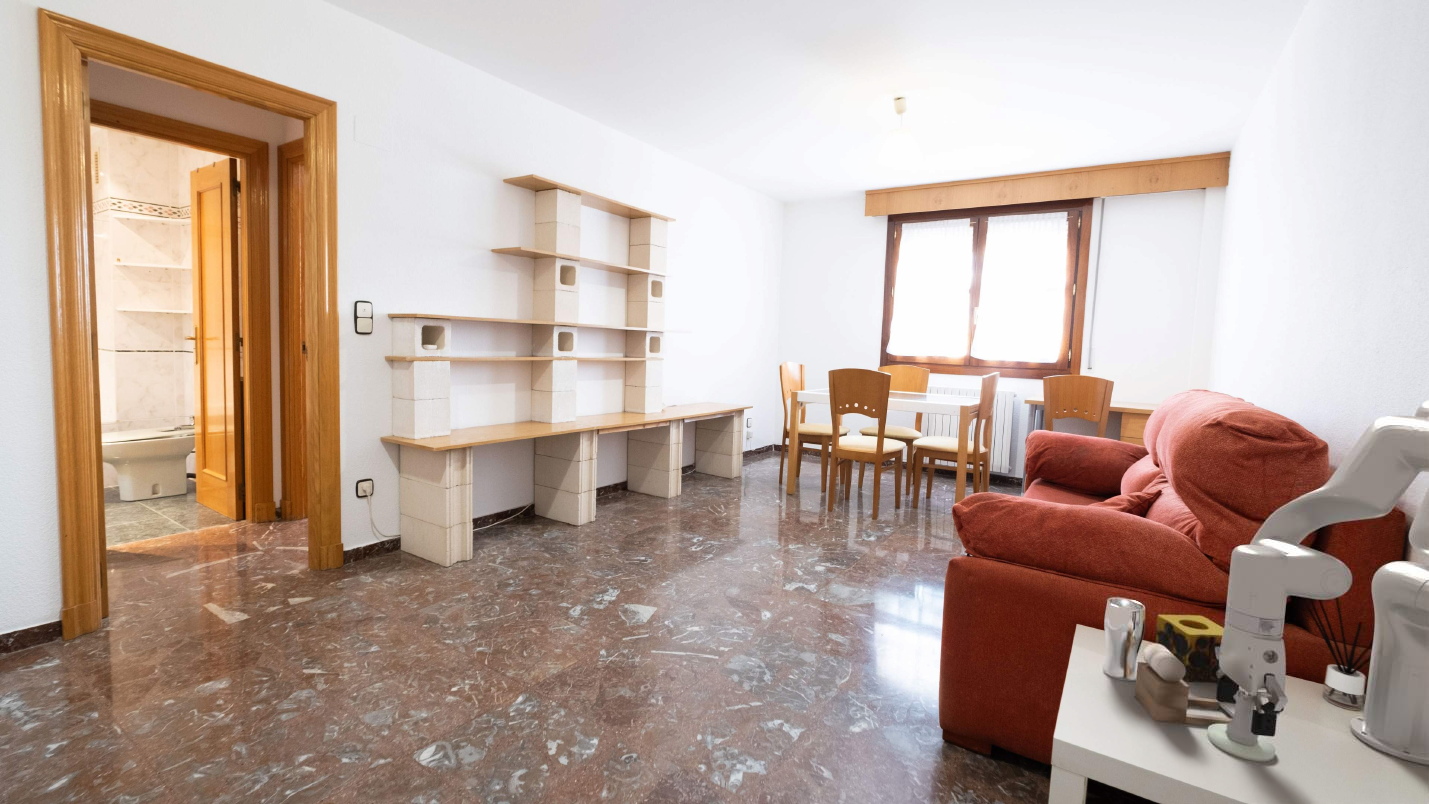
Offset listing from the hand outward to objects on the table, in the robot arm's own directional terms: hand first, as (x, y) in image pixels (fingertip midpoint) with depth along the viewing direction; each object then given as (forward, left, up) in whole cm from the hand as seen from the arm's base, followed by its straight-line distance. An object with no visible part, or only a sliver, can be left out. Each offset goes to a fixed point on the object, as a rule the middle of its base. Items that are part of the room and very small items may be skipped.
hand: (1243, 717), depth 112 cm
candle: (-6, -27, -5) cm, 28 cm away
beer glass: (+10, -22, -5) cm, 25 cm away
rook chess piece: (0, 0, -4) cm, 4 cm away
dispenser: (+4, -9, -5) cm, 11 cm away
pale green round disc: (0, 0, -5) cm, 5 cm away
